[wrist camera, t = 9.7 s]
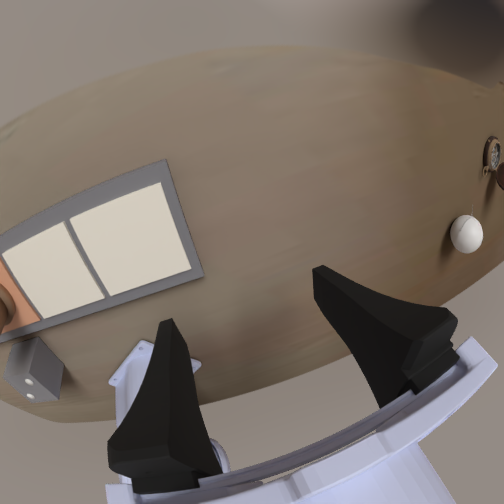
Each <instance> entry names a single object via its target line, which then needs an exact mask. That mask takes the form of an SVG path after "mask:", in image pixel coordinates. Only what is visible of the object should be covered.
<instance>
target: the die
mask: <svg viewBox="0 0 504 504" xmlns="http://www.w3.org/2000/svg"><path fill="white" fill-rule="evenodd" d="M63 368H64V364H63V363H62V362H61V361H60V360H59V359H58V358H57V357H56V356H55V355H54V354H53V352H52V351H51V350H50V349H49V348H48V347H47V346H46V345H45V344H44V342H43V341H42V340H41V339H40V338H39V337H36V338H33V339H30V340H26V341H23V342H20V343H16V344H13V346H12V349H11V352H10V355H9V358H8V361H7V365H6V368H5V372H4V375H3V378H4V379H5V380H6V381H7V382H8V383H9V384H10V385H11V386H12V387H13V388H15V389H16V390H17V391H18V392H19V393H20V394H21V395H23V396H24V397H25V398H26V399H27V400H29V401H30V402H31V403H35V402H44V401H52V400H59V396H60V388H61V381H62V374H63Z"/></svg>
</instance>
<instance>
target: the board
mask: <svg viewBox="0 0 504 504" xmlns="http://www.w3.org/2000/svg"><path fill="white" fill-rule="evenodd" d="M203 276H204V272H203V269H202V266H201V263H200V260H199V258H198V255H197V252H196V249H195V246H194V243H193V241H192V238H191V235H190V232H189V229H188V226H187V223H186V220H185V217H184V214H183V211H182V208H181V205H180V202H179V199H178V196H177V192H176V189H175V186H174V183H173V180H172V177H171V173H170V170H169V167H168V163H167V160H166V159H163V160H161V161H158V162H155V163H152V164H149V165H146V166H143V167H141V168H138V169H135V170H133V171H130V172H127V173H125V174H122V175H120V176H117V177H115V178H112V179H110V180H107V181H105V182H103V183H100V184H98V185H96V186H93V187H91V188H89V189H87V190H84V191H82V192H80V193H78V194H76V195H74V196H71V197H69V198H67V199H65V200H63V201H61V202H59V203H57V204H55V205H53V206H51V207H49V208H47V209H45V210H43V211H41V212H40V213H38V214H36V215H34V216H32V217H30V218H29V219H27V220H25V221H23V222H21V223H20V224H18V225H16V226H15V227H13V228H11V229H9V230H8V231H6V232H5V233H3V234H1V235H0V284H2V285H3V286H4V287H5V288H6V289H7V290H8V291H9V293H10V294H11V296H12V297H13V299H14V302H15V306H16V311H15V314H14V317H13V319H12V321H11V323H10V324H8V325H5V326H4V328H3V330H2V333H1V335H0V343H1V342H5V341H8V340H11V339H14V338H17V337H20V336H23V335H27V334H30V333H33V332H36V331H39V330H42V329H45V328H48V327H52V326H55V325H58V324H61V323H64V322H67V321H70V320H73V319H76V318H79V317H82V316H85V315H89V314H92V313H95V312H98V311H101V310H104V309H107V308H110V307H113V306H116V305H119V304H122V303H125V302H128V301H131V300H134V299H137V298H140V297H143V296H146V295H149V294H152V293H155V292H158V291H161V290H164V289H167V288H170V287H173V286H176V285H179V284H182V283H185V282H188V281H191V280H194V279H197V278H200V277H203Z"/></svg>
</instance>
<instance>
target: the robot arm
mask: <svg viewBox="0 0 504 504" xmlns="http://www.w3.org/2000/svg"><path fill="white" fill-rule="evenodd" d="M312 272H313V289H314V299H315V301H316V303H317V305H318V306H319V308H320V310H321V311H322V313H323V315H324V316H325V317H326V319H327V320H328V321H329V323H330V324H331V325H332V327H333V328H334V329H335V330H336V332H337V333H338V334H339V336H340V337H341V338H342V340H343V341H344V342H345V343H346V345H347V346H348V348H349V349H350V351H351V353H352V354H353V356H354V357H355V359H356V361H357V363H358V365H359V366H360V368H361V370H362V372H363V374H364V376H365V377H366V380H367V381H368V384H369V386H370V387H371V390H372V392H373V394H374V396H375V398H376V401H377V403H378V405H379V408H380V409H379V410H378V411H376V412H374V413H372V414H371V415H369V416H367V417H366V418H364V419H362V420H360V421H358V422H356V423H355V424H353V425H351V426H349V427H347V428H345V429H343V430H341V431H339V432H337V433H335V434H333V435H331V436H329V437H327V438H324V439H323V440H320V441H318V442H315V443H313V444H311V445H308V446H306V447H304V448H301V449H299V450H296V451H294V452H291V453H288V454H286V455H283V456H280V457H278V458H275V459H272V460H269V461H266V462H263V463H260V464H256V465H253V466H250V467H246V468H243V469H239V470H236V471H232V472H231V471H230V464H229V460H228V457H227V454H226V452H225V451H224V449H223V447H222V446H221V445H220V444H219V443H218V442H217V441H216V440H214V439H211V438H209V436H208V433H207V430H206V427H205V424H204V421H203V418H202V415H201V412H200V408H199V404H198V399H197V394H196V388H195V381H194V375H193V373H194V372H195V371H196V370H198V369H199V368H200V367H201V365H202V364H201V362H200V361H198V360H195V359H192V358H190V355H189V351H188V347H187V344H186V342H185V340H184V339H183V337H182V335H181V333H180V332H179V330H178V328H177V326H176V325H175V323H174V321H173V319H172V318H171V319H168V320H165V321H161V322H160V323H159V327H158V331H157V336H156V340H155V344H152V343H149V342H147V341H144V340H143V341H140V342H139V343H138V344H137V345H136V347H135V348H134V349H133V350H132V352H131V353H130V354H129V355H128V357H127V358H126V359H125V360H124V362H123V363H122V364H121V365H120V367H119V368H118V369H117V370H116V372H115V373H114V374H113V375H112V377H111V378H110V379H109V384H110V385H113V386H115V387H116V424H117V430H116V431H115V432H114V434H113V435H112V436H111V438H110V439H109V440H108V446H107V450H108V462H109V468H110V469H111V470H112V471H114V472H116V473H118V474H119V480H120V484H106V485H105V488H106V495H107V501H108V504H456V503H455V501H454V499H453V498H452V496H451V495H450V493H449V492H448V490H447V488H446V487H445V485H444V484H443V482H442V480H441V479H440V477H439V476H438V474H437V473H436V471H435V470H434V468H433V467H432V465H431V464H430V462H429V460H428V459H427V457H426V456H425V454H424V453H423V451H422V450H421V448H420V447H419V445H418V444H417V442H419V441H420V440H422V439H423V438H424V437H426V436H427V435H428V434H429V433H431V432H432V431H433V430H434V429H436V428H437V427H438V426H439V425H440V424H442V423H443V422H444V421H445V420H446V419H447V418H449V417H450V416H451V415H452V414H453V413H454V412H455V411H456V410H458V409H459V407H461V406H462V405H463V404H464V403H465V402H466V401H467V400H468V399H469V398H470V397H471V396H472V395H473V394H474V393H475V392H476V391H477V390H478V389H479V388H480V387H481V386H482V385H483V383H484V382H485V381H486V380H487V379H488V378H489V376H490V375H491V374H492V373H493V372H494V370H495V369H496V368H497V367H498V364H497V363H496V362H495V361H494V360H493V359H492V358H491V357H490V356H489V354H488V353H487V352H486V351H485V350H484V349H483V348H482V347H481V346H480V345H479V344H478V342H477V341H476V340H475V339H474V338H473V337H472V336H470V337H469V338H468V339H467V340H466V341H465V342H464V343H462V344H461V345H460V346H459V347H458V348H457V349H456V350H455V351H454V350H453V349H452V347H453V343H452V342H451V341H450V339H451V337H452V335H453V333H454V331H455V329H456V327H457V323H458V319H457V318H456V317H455V316H454V315H453V314H452V313H451V312H450V311H449V310H448V309H447V308H444V307H433V306H425V305H420V304H414V303H410V302H406V301H402V300H398V299H395V298H392V297H389V296H386V295H383V294H380V293H378V292H375V291H373V290H371V289H369V288H366V287H364V286H362V285H360V284H358V283H356V282H354V281H352V280H350V279H348V278H346V277H344V276H343V275H341V274H339V273H337V272H335V271H333V270H332V269H330V268H328V267H326V266H324V265H321V266H319V267H316V268H313V269H312ZM141 347H142V348H141ZM375 429H376V432H375V433H372V434H370V435H368V436H366V437H365V438H363V439H361V440H359V441H357V442H355V443H353V444H351V445H349V446H347V447H346V448H344V449H342V450H339V451H338V452H335V453H333V454H331V455H329V456H327V457H325V458H323V459H320V460H318V461H316V462H313V463H311V464H309V465H307V466H304V467H302V468H300V469H298V470H296V471H294V472H293V473H290V474H288V475H285V476H283V477H280V478H278V479H276V480H273V481H270V482H267V483H265V484H263V482H262V481H259V480H262V479H265V478H268V477H271V476H274V475H277V474H280V473H283V472H286V471H289V470H291V469H294V468H297V467H299V466H302V465H304V464H306V463H309V462H311V461H313V460H316V459H318V458H321V457H323V456H325V455H327V454H330V453H332V452H334V451H336V450H338V449H340V448H342V447H344V446H346V445H348V444H350V443H352V442H354V441H355V440H357V439H359V438H361V437H363V436H365V435H366V434H368V433H370V432H372V431H373V430H375ZM255 481H257V482H255Z"/></svg>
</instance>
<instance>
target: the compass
mask: <svg viewBox="0 0 504 504" xmlns="http://www.w3.org/2000/svg"><path fill="white" fill-rule="evenodd" d="M500 158H501V146H500V143H499V141H498V138H496V137H494V136H491V137H490V138H489V139H488V140H487V143H486V145H485V149H484V166H485V167H484V169H485V170H486V171H487V172H488V171H489V172H493V171H494V170H495V171H496V179H497V183H498V184H499V186H500V187H501V188H502V189H503V190H504V162H503V163H501V164H500V165H499V162H500ZM498 165H499V166H498ZM484 169H483V173H484ZM487 172H486V175H487ZM486 175H485V176H484V175H483V177H486Z"/></svg>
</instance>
